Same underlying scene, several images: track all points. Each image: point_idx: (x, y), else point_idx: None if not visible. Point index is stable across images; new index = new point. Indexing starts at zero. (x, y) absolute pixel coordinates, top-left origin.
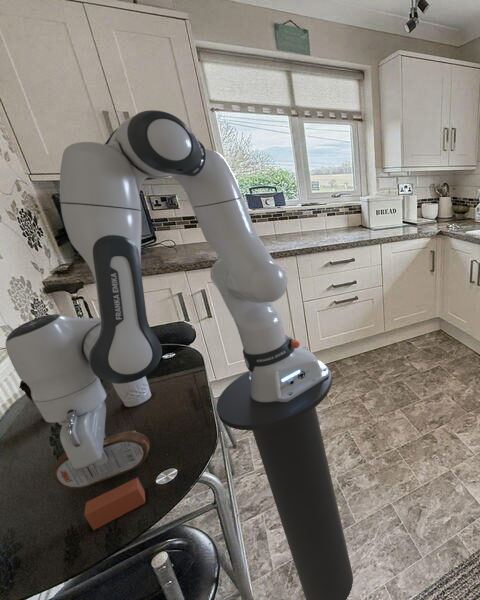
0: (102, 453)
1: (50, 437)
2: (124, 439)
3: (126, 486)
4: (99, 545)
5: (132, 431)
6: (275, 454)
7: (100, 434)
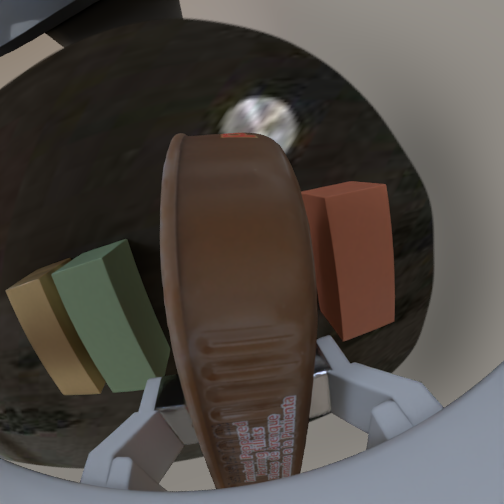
0: (385, 374)
1: (20, 433)
2: (306, 262)
3: (352, 229)
4: (412, 264)
5: (9, 298)
6: (160, 6)
7: (492, 473)
